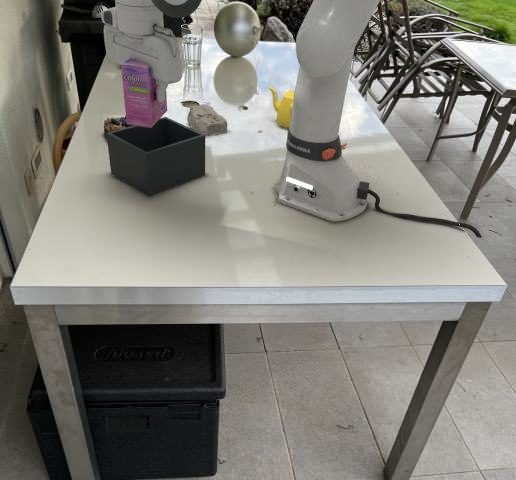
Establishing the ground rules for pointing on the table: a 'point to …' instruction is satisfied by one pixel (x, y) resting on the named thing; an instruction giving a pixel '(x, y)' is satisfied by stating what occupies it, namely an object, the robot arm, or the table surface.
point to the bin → (156, 155)
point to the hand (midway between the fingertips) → (145, 94)
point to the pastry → (115, 124)
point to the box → (140, 94)
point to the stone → (206, 120)
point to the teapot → (283, 107)
